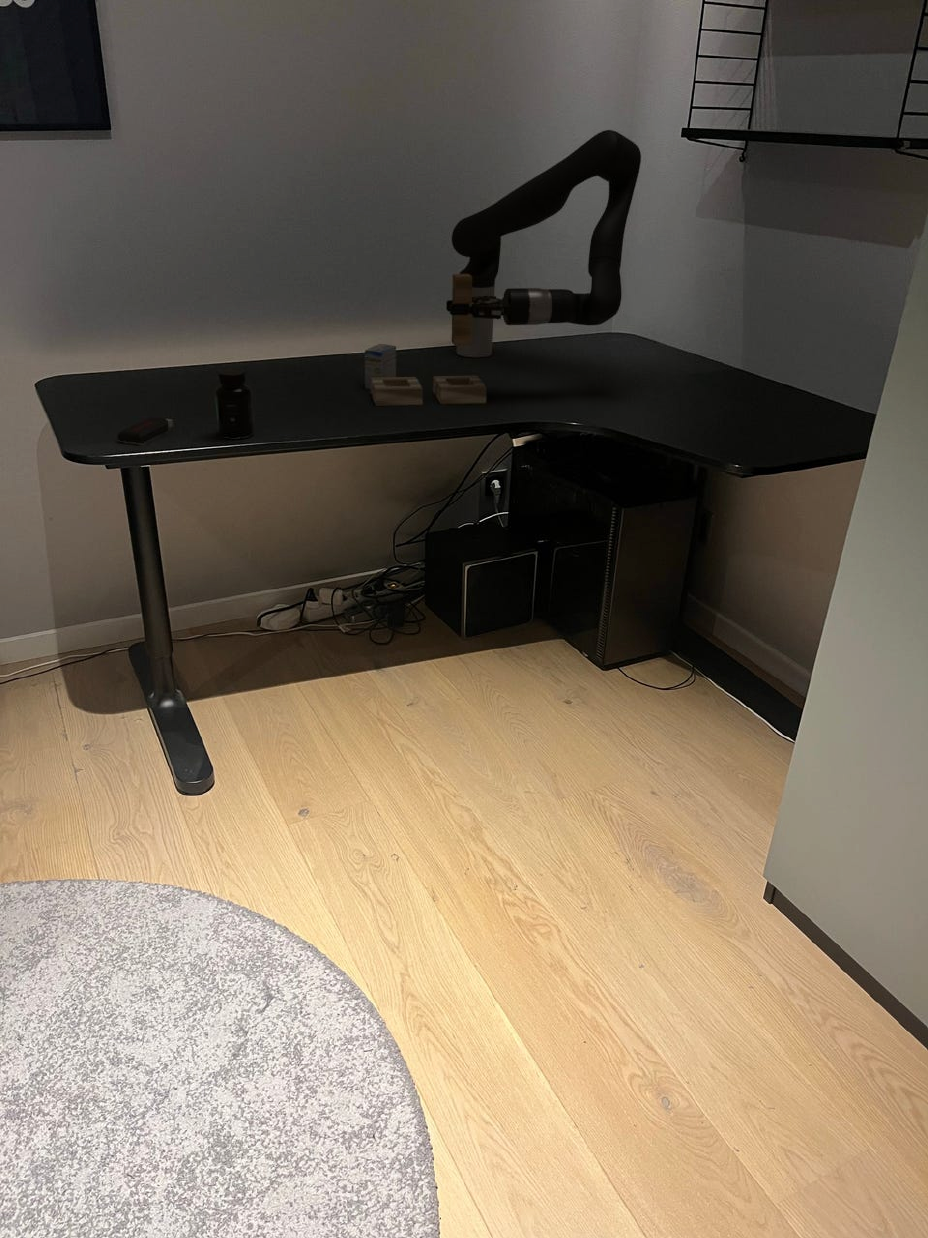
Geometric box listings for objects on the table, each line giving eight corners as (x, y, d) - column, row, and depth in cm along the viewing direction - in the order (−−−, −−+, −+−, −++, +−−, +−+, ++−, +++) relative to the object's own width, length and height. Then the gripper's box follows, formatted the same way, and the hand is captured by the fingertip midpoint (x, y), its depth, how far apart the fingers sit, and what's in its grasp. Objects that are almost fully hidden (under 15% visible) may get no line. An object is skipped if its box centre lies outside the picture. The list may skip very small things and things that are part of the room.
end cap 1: (371, 393, 217) (370, 377, 215) (415, 392, 218) (415, 376, 217) (376, 405, 208) (376, 389, 206) (422, 404, 210) (422, 388, 208)
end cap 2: (433, 391, 219) (433, 376, 218) (476, 390, 221) (477, 375, 219) (440, 404, 211) (441, 388, 209) (486, 402, 212) (486, 386, 211)
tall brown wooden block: (451, 341, 212) (452, 274, 205) (467, 341, 212) (468, 273, 206) (454, 345, 208) (455, 276, 202) (470, 344, 209) (472, 276, 203)
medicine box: (379, 380, 227) (378, 343, 223) (396, 383, 226) (396, 345, 221) (364, 388, 220) (364, 350, 216) (382, 391, 219) (382, 352, 215)
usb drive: (118, 444, 182) (115, 430, 180) (154, 426, 192) (152, 413, 190) (142, 447, 180) (140, 433, 179) (177, 430, 190) (176, 416, 189)
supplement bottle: (213, 438, 185) (207, 375, 179) (225, 428, 191) (220, 366, 185) (247, 441, 184) (243, 377, 179) (259, 430, 190) (255, 368, 185)
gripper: (519, 282, 214) (442, 283, 211) (536, 294, 202) (454, 294, 198) (518, 318, 217) (442, 319, 214) (534, 331, 205) (454, 332, 202)
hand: (448, 307), depth 206 cm, fingers closed on tall brown wooden block, 3 cm apart
